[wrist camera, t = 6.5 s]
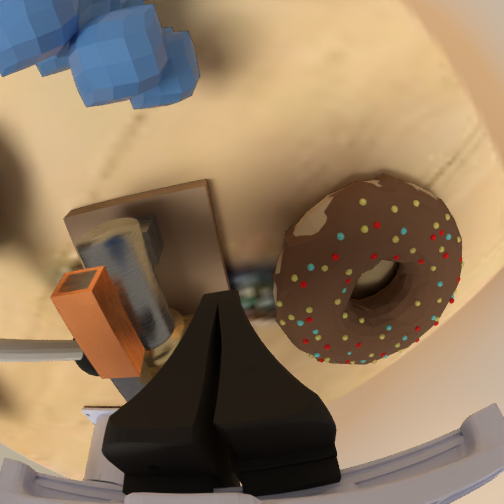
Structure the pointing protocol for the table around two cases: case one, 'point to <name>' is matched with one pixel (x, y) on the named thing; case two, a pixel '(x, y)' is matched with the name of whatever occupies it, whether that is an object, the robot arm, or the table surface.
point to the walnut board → (170, 239)
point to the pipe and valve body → (137, 281)
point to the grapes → (100, 49)
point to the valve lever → (102, 328)
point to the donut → (361, 260)
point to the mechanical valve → (44, 352)
